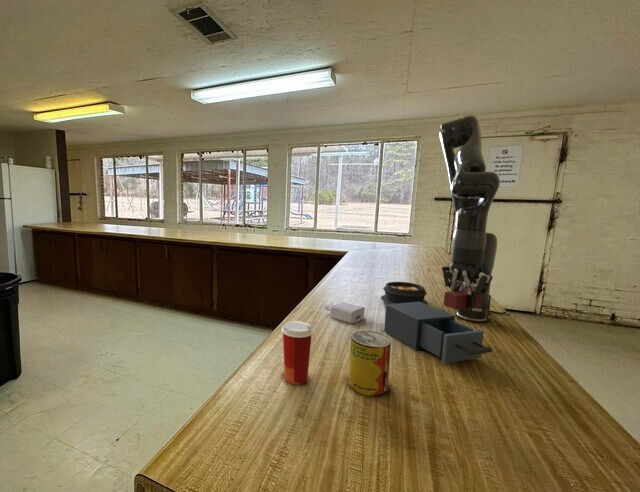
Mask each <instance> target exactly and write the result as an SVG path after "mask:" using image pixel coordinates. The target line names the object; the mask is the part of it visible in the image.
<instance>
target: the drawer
mask: <svg viewBox="0 0 640 492" xmlns="http://www.w3.org/2000/svg"><path fill="white" fill-rule="evenodd" d="M484 333H485V331H484V330H482V329H475V330H474V328H472V327H470V326H467V325H465V324H463V323H460V322H459V321H458V322H457V321H453V320H451V319H444V320H434V321H425V322H420V330H419V342H418V345H419V346H421V347H423V348H424V349H423V350H426V351H427V352H429V353H431V354H433V355H435V356H437V357H438V358H441V362H442V363H444V364H449V363H454V362H461V361H462V362H463V361H468V360H475V359H481V358H482V354H488V353H492V352H493V348H492V347H491V346H485V345H483V342H484Z"/></svg>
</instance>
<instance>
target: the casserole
mask: <svg viewBox="0 0 640 492" xmlns="http://www.w3.org/2000/svg"><path fill="white" fill-rule="evenodd" d="M382 289H383V291H384V294H382V295H381V296H380V300H381V301H382V302H383V303H384V305H385V306H386V304H397V303H409V302H422V303H424V304H427V305H429V302H428V301H427V300H426V299H425V296H427V295H428V292H427V291H426V288H425V287H424V286H422V285H420V284H417V283H412V282H407V281H390V282H386V283H385V286H383V288H382Z"/></svg>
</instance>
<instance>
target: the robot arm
mask: <svg viewBox="0 0 640 492" xmlns="http://www.w3.org/2000/svg"><path fill="white" fill-rule="evenodd" d="M438 133H439V140H440V144H441V148H442V152H443V156H444V161H445V164H446V168H447V173H448V180H449V187H450V193H451V199H452V203H453V207H454V213H455V225H454V231H453V235H452V244H451V254H450V261H451V265H448V266H447V265H446V266H442V267H441V270H442V275H443V281H444V286H445V287H447V288H449V289H450V291H462V290H467V294H468V295H467V301H466V308H468V309H459V310H457V312H456V316H457V317H458V318H459V319H462V320H465V321H468V322H473V323H486V322H487V321H488V320H489V316H490V313H492V314H496V315H506V314H507V312H508V311H509V310H508V309H507V308H504V311H501V312H500V311H496V310H495V311H494V310H491V296H492V295H491V294H490V290H491V282H492V281H493V278H494V277H493V276H492V272H493V270H494V266H495V261H496V255H497V250H498V237H497V236H496V234H494V233H493V232H487V224H488V216H489V212H490V209H491V206H492V204H493V201H494V199H495V197H496V196H497V192H498V190H499V188H500V185H501V178H500V177H499V175H498V174H497V173H496V172H494V171H486V170H487V165H486V162H485V159H484V156H483V151H482V148H483V147H482V145H483V144H482V142H483V141H482V133H481V125H480V122H479V120H478V118H477V116H476V115H474V114H473V115H472V114H471V115H466V116H463V117H459V118H455V119H453V120H449V121H447V122H444V123H441V124H440V126H439V129H438ZM455 149H459V150H458V151H457V153H456V152H455ZM478 295H483V296H482V305H481V307H478V308H474V307H475V306H476V299H477V296H478ZM505 311H506V312H505Z"/></svg>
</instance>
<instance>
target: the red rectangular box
mask: <svg viewBox="0 0 640 492" xmlns="http://www.w3.org/2000/svg"><path fill="white" fill-rule="evenodd" d="M467 295H468V294H467V290H462V291H460V290H459V291H451V290H450V291H444V298H443V306H444V307H447V308H450V309H452V310H455V311H458V310H459V309H468V308H466V301H467ZM482 296H483V295H478V296H477V299H476V306H475V307H474V308H478V307H481V305H482Z"/></svg>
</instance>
